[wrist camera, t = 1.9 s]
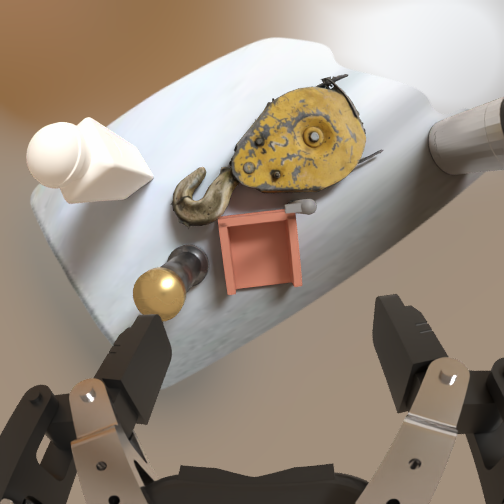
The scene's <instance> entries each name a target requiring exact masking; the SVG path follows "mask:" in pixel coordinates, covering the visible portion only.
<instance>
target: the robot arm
mask: <svg viewBox="0 0 504 504" xmlns="http://www.w3.org/2000/svg"><path fill="white" fill-rule="evenodd" d="M429 148H430V152H431V155H432V157H433V159H434V161H435V163H436V164H437V165H438V167H439V168H440V169H442V170H443V171H444V172H446V173H448V174H451V175H457V174H466V173H476V172H486V171H497V170H504V97H502V98H500V99H497V100H494V101H491V102H489V103H486V104H483V105H481V106H478V107H475V108H472V109H470V110H467V111H464V112H462V113H459V114H457V115H454V116H451V117H449V118H446V119H444V120H441V121H439V122H437V123H435V124H434V125H433V127H432V128H431V130H430V134H429ZM373 343H374V347H375V350H376V352H377V355H378V358H379V360H380V363H381V366H382V369H383V372H384V375H385V377H386V380H387V383H388V385H389V389H390V392H391V395H392V398H393V401H394V404H395V406H396V410H397V413H402V412H406V411H408V412H409V414H408V415H407V416H406V418H405V420H404V421H403V423H402V425H401V428H400V429H399V431H398V433H397V435H396V437H395V439H394V441H393V443H392V444H391V447H390V448H389V450H388V452H387V454H386V455H385V457H384V459H383V460H382V462H381V464H380V466H379V467H378V469H377V471H376V472H375V474H374V475H373V477H372V479H371V480H370V482H367V481H366V480H363V479H361V478H358V477H355V476H352V475H348V474H342V473H334V467H333V464H326V465H317V466H307V467H294V468H291V469H287V470H284V471H280V472H276V473H272V474H268V475H263V476H259V477H249V476H244V475H241V474H236V473H232V472H229V471H225V470H221V469H217V468H206V467H193V466H182V465H181V466H180V471H179V475H173V476H168V477H165V478H162V479H159V477H158V476H157V475H156V473H155V472H154V470H153V468H152V466H151V464H150V462H149V460H148V458H147V457H146V454H145V452H144V450H143V448H142V446H141V444H140V442H139V440H138V437H137V435H136V433H135V431H134V430H133V429H134V426H135V424H136V423H137V424H145V425H147V424H148V421H149V418H150V416H151V413H152V410H153V407H154V404H155V402H156V399H157V396H158V393H159V391H160V388H161V385H162V383H163V380H164V377H165V375H166V372H167V369H168V367H169V364H170V361H171V357H172V350H171V345H170V342H169V339H168V337H167V334H166V331H165V328H164V325H163V322H162V319H161V317H160V316H159V315H158V314H149V315H139V316H138V317H137V319H136V320H135V322H134V324H133V325H132V327H128V328H127V329H126V330H125V331H124V332H123V333H121V334H120V335H119V336H118V338H117V340H116V341H115V343H114V344H113V345H114V346H112V348H111V350H110V351H109V354H108V355H107V356H106V358H105V359H104V361H103V363H102V365H101V366H100V368H99V370H98V371H97V373H96V375H95V376H94V378H90V379H86V380H83V381H81V382H79V383H78V384H76V385H75V386H74V387H73V389H72V390H71V392H70V394H62V395H54V394H53V393H52V391H51V390H50V389H49V387H48V386H46V385H37V386H34V387H33V388H31V389H29V390H28V391H27V392H26V393H25V395H24V396H23V397H22V399H21V401H20V402H19V404H18V405H17V407H16V409H15V411H14V412H13V414H12V416H11V417H10V419H9V421H8V423H7V424H6V426H5V428H4V430H3V431H2V433H1V435H0V504H66V502H67V499H68V496H69V493H70V490H71V487H72V484H73V482H74V479H75V476H76V473H78V477H79V481H80V484H81V487H82V491H83V494H84V497H85V500H86V503H87V504H429V503H430V501H431V499H432V496H433V495H434V492H435V490H436V488H437V486H438V483H439V481H440V479H441V477H442V474H443V472H444V469H445V467H446V464H447V462H448V459H449V457H450V454H451V451H452V449H453V446H454V443H455V440H456V437H457V434H466V437H467V440H468V443H469V446H470V449H471V452H472V455H473V458H474V462H475V465H476V468H477V472H478V475H479V479H480V482H481V486H482V490H483V494H484V498H485V502H486V504H504V358H501V359H499V360H497V361H496V362H495V363H494V365H493V367H492V369H491V371H469V370H468V368H467V367H466V365H465V364H464V363H463V362H461V361H459V360H457V359H454V358H450V357H448V356H447V354H446V352H445V350H444V349H443V347H442V345H441V344H440V342H439V341H438V339H437V337H436V335H435V334H434V332H433V331H432V329H431V327H430V326H429V324H427V321H426V319H425V318H424V316H423V315H422V313H421V312H419V311H418V310H417V309H415V308H414V307H412V306H404V304H403V303H402V301H401V299H400V298H399V296H398V295H397V294H393V295H386V296H378V297H377V298H376V302H375V312H374V322H373ZM44 435H46V436H47V437H48V438H49V439H50V440H51V441H50V443H49V446H48V448H47V450H46V452H45V454H44V457H43V459H42V461H41V464H39V463H38V461H37V459H36V452H37V450H38V447H39V445H40V443H41V441H42V439H43V437H44Z"/></svg>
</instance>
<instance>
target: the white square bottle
mask: <svg viewBox="0 0 504 504" xmlns="http://www.w3.org/2000/svg"><path fill="white" fill-rule="evenodd" d="M26 160H27V166H28V169H29V171H30V173H31V174H32V176H33V177H34V178H35V179H36V180H38V181H39V182H40V183H41V184H42V185H44V186H46V187H50V188H60V189H61V192H62V194H63V196H64V198H65V200H66V201H67V202H68V203H70V204H74V203H85V202H97V201H110V200H124V199H126V198H127V197H129V196H130V195H131V194H133V193H134V192H135V191H137V190H138V189H139V188H141V187H142V186H144V185H145V184H146V183H148V182H149V181H151V180H152V179H153V178H154V176H153V174H152V173H151V171H150V169H149V168H148V166H147V164H146V163H145V161H144V159H143V158H142V156H141V154H140V152H139V151H138V149H137V148H136V147H135V146H133V145H132V144H130V143H129V142H127V141H126V140H124V139H123V138H121V137H120V136H118V135H117V134H115V133H114V132H112V131H111V130H109V129H107V128H106V127H104V126H103V125H101V124H99V123H98V122H97V121H95V120H94V119H92V118H90V117H88V118H85V119H84V120H83V121H81V122H80V123H79V124H78V125H77V126H75V125H74V124H71V123H66V122H59V123H55V124H50V125H48V126H46V127H43V128H42V129H40V130H39V131H38V132H37V133H36V134H35V135H34V136H33V138H32V139H31V141H30V143H29V146H28V149H27V154H26Z"/></svg>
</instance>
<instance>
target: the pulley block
mask: <svg viewBox="0 0 504 504" xmlns="http://www.w3.org/2000/svg"><path fill="white" fill-rule="evenodd" d="M347 76H348V75H347V74H345V75H339V76H337V77H333V78H332V79H331V76H330V77H328V78H324V79H321V80H322V82H323V83H322V84H320V85H317V86H316V87H306V88H298V89H296V90H293V91H290V92H288V93H286V94H284V95H282V96H280V97H278V98H277V99H275V100H274V98H273V99H272V102H268V103H267V106H266V108H265V109H264V111H263V112H262V113H261V115H260V116H259V117H258V119H257V120H255V122H254V123H253V125H252V126H251V127H250V128H249V130H248V131H247V132H246V133H245V134H244V136H243V137H242V138H241V139H240V141H239V142H238V143H237V144H236V146H235V149H234V151H236V152H235V154H234V156H233V158H232V159H231V160H232V161H230V166H231V168H228V167H222V168H221V171H220V175H219V176H218V177H217V178H216V179H215V180H214V182H213V183H212V184H211V185H210V186H209V187H208V189H207V191H206V193H205V195H204V197H203V198H202V199H201V200H199V201H194V200H193V199H192V195H193V192H194V190H195V189H196V188H197V187H198V186H199V185H200V183H201V182H202V181H203V179H204V178H205V176H206V170H205V168H204V167H200V168H198V169H197V170H195V171H194V172H193V173H191V174H190V175H188V176H187V177H186V178H184V179H183V180H182V181H181V182H180V183H179V184H178V185H177V186H176V189H175V191H174V194H173V202H172V204H171V205H173V211H175V213H176V215H177V216H178V218H179V222H180V223H182V224H184V225H185V226H187V227H188V229H189V227H190V226H202V225H206V224H209V223H211V222H214V221H215V220H217V219H218V218H219V217H220V216H221V215H222V214H223V213H224V211H225V209H226V207H227V205H228V203H229V200H230V197H231V194H232V192H233V190H234V189H235V187H236V186H237V185H238V184H239V183H241V184H243V185H245V186H247V187H251V188H256V189H257V190H259V191H261V192H262V193H288V192H317V191H320V190H322V189H324V188H326V187H328V186H331V185H333V184H335V183H337V182H339V181H341V180H342V179H344V178H345V177H346V176H347V175H348V174H349V173H350V172H351V171H352V170H353V169H354V168H355V167H356V166H357V164H359V163H361V162H363V161H365V160H367V159H369V158H371V157H373V156H375V155H377V154H379V153H381V152H382V151H383V150H380V151H377V152H376V153H374V154H372V155H370V156H368V157H365V158H362V159H360V158H361V156H362V154H363V151H364V148H365V143H366V136H365V134H366V133H365V129H364V128H363V123H362V122H361V120H360V118H359V112H358V111H357V110H356V108H355V106H354V104H353V102H352V101H351V100H350V98H349V97H348V96H347V95H346V93H345V92H344V91H343V90H342V89H341V88H339V87H338V86H337V85H336V84H335V82H336V81H338V80H340V79H342V78H345V77H347ZM331 84H333V85H334V87H333V88H331V89H330V88H329V86H331V87H332V85H331Z"/></svg>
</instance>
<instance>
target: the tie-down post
mask: <svg viewBox="0 0 504 504" xmlns="http://www.w3.org/2000/svg"><path fill="white" fill-rule="evenodd" d="M208 268H209V262H208V258H207V256H206V254H205V253H204V251H203V250H202V249H200V248H199V247H197V246H195V245H189V244H188V245H182V246H180V247H178V248H176V249H175V250H174V251H173V252H172V253H171V254H170V256H169V258H168V261H167V263H165V264H164V265H163V266H161V267H157V268H153V269H150V270H148V271H147V272H146V273H144V274H143V275H141V276H140V277H139V278H138V279H137V281H136V283H135V285H134V288H133V299H134V302H135V305H136V307H137V308H138V310H139V311H140V312H141V313H142V314H143V315H149V314H158V315H159V316H160V317H161V319H162V321H167V320H170V319H172V318H173V317H175V316H176V315H177V314H178V313H179V311H180V310H181V308H182V306H183V305H184V303H185V299H186V293H187V292H188V290H189V289H190V287H191V286H194V285H197V284H198V283H200V282H201V281H202V280H203V279H204V277H205V276H206V274H207V272H208Z"/></svg>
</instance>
